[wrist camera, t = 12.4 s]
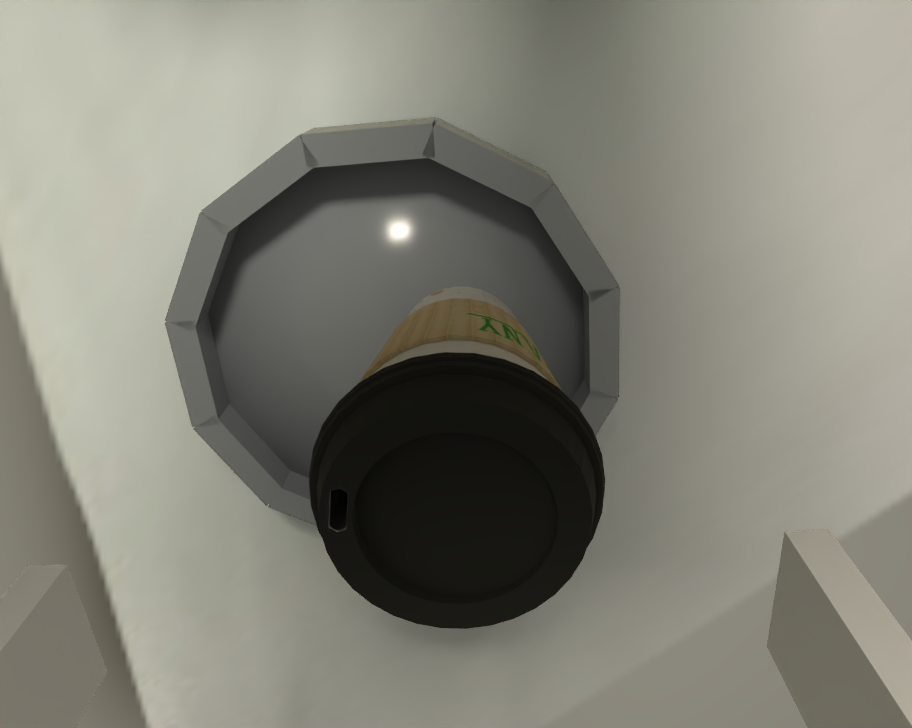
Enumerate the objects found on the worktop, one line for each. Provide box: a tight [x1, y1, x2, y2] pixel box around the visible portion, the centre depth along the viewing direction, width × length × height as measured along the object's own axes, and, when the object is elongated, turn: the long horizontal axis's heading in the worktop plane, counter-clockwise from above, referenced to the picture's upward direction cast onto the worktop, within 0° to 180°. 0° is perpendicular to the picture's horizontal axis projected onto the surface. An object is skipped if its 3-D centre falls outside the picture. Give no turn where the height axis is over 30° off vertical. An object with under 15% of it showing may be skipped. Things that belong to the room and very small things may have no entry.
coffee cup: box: [309, 286, 605, 628], centre depth 29 cm, size 10×10×15 cm
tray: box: [165, 118, 620, 525], centre depth 35 cm, size 21×21×3 cm
